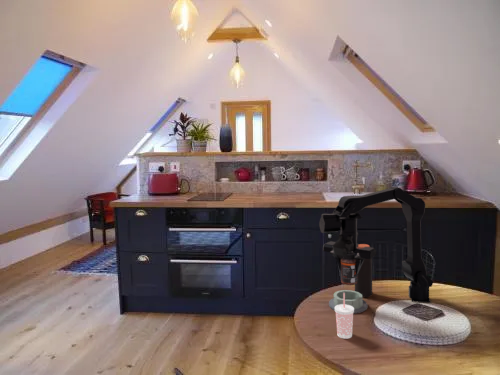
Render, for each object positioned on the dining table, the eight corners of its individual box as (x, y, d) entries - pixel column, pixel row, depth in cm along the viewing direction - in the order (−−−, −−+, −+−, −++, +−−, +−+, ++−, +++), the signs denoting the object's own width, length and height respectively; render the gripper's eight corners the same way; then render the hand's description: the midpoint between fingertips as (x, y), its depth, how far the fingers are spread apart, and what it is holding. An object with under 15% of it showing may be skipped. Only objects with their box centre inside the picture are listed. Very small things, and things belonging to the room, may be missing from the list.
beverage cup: (331, 333, 128) (330, 291, 126) (346, 328, 130) (346, 287, 128) (342, 341, 122) (341, 298, 120) (358, 337, 124) (358, 294, 123)
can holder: (365, 298, 153) (365, 289, 153) (369, 314, 140) (369, 303, 139) (329, 297, 156) (328, 287, 156) (328, 312, 143) (328, 302, 142)
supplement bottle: (358, 286, 143) (357, 255, 141) (341, 285, 144) (340, 255, 143) (356, 280, 149) (356, 251, 147) (340, 279, 150) (340, 250, 148)
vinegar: (353, 291, 162) (353, 243, 160) (370, 291, 161) (370, 243, 159) (355, 297, 155) (355, 248, 153) (373, 297, 154) (373, 247, 152)
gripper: (314, 232, 144) (315, 273, 146) (363, 238, 132) (363, 284, 134) (330, 226, 152) (330, 265, 154) (376, 232, 140) (376, 274, 142)
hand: (349, 272), depth 146 cm, fingers closed on supplement bottle, 6 cm apart
